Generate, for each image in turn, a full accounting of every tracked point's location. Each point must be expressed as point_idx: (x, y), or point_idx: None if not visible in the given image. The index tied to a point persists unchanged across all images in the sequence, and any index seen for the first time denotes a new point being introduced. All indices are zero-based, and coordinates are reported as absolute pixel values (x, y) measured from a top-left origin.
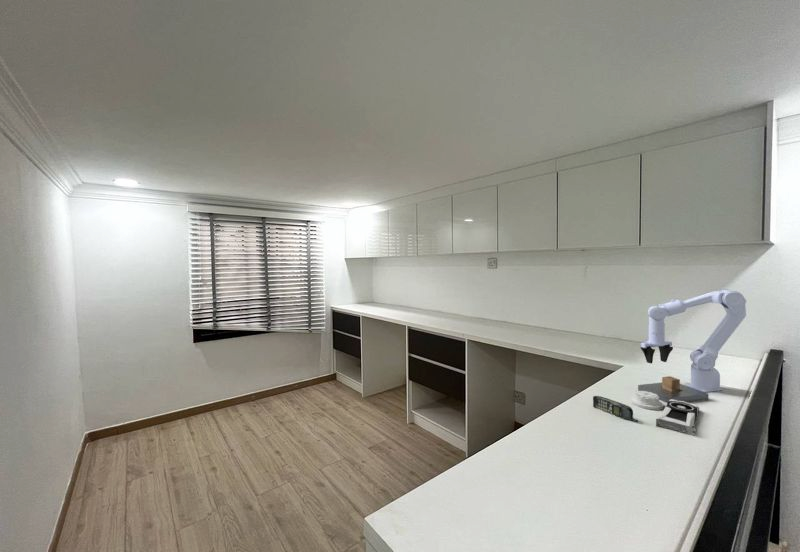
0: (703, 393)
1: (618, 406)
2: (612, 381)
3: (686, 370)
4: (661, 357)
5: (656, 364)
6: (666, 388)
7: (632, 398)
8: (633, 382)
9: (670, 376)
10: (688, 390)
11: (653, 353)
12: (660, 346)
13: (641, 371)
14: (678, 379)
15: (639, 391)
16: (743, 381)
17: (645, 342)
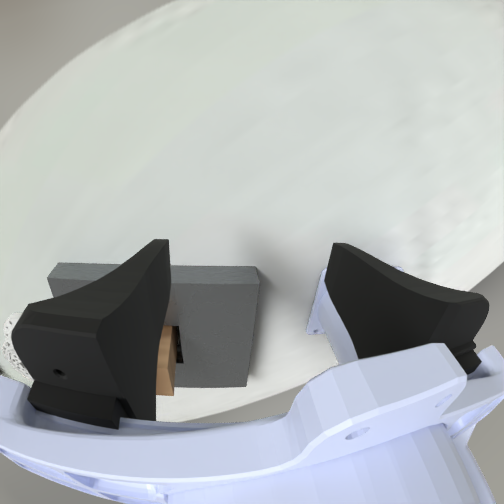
0: (232, 384)
1: None
2: (26, 133)
3: (494, 144)
4: (349, 266)
5: (476, 41)
6: None
7: (7, 324)
8: (107, 163)
9: (165, 370)
10: (208, 363)
11: (152, 386)
12: (430, 340)
13: (342, 31)
14: (167, 394)
15: (12, 350)
16: (485, 274)
17: (58, 471)
